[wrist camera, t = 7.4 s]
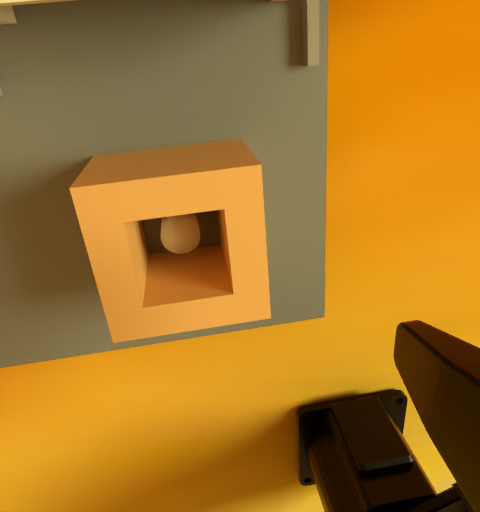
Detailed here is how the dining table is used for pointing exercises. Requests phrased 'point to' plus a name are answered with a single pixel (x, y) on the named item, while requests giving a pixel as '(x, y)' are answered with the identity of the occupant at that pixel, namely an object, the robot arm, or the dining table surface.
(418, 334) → the robot arm
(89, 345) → the base plate
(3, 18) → the cover
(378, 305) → the dining table surface
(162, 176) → the orange hollow square block
